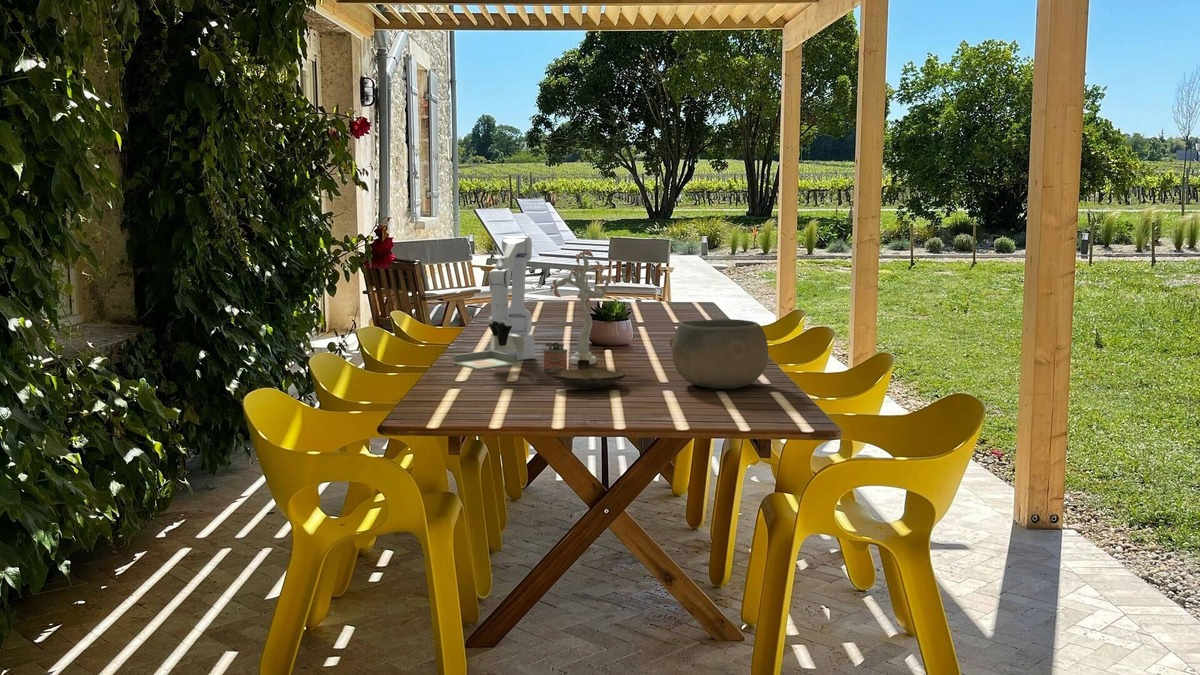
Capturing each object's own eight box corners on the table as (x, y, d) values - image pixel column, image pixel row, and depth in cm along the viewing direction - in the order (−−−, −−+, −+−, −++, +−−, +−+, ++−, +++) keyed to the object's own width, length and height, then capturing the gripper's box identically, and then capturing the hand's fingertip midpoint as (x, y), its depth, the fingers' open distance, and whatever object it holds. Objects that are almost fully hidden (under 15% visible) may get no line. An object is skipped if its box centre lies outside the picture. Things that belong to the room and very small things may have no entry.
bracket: (514, 348, 342) (514, 333, 342) (523, 351, 336) (523, 336, 336) (490, 349, 338) (490, 335, 337) (499, 352, 332) (499, 337, 331)
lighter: (568, 370, 335) (567, 341, 334) (566, 372, 332) (566, 342, 330) (544, 370, 336) (544, 341, 335) (542, 372, 333) (542, 342, 331)
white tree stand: (556, 355, 367) (554, 246, 362) (619, 356, 365) (619, 246, 360) (545, 368, 340) (543, 251, 334) (613, 369, 338) (613, 251, 332)
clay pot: (655, 381, 315) (656, 319, 312) (739, 375, 325) (740, 314, 323) (697, 399, 288) (698, 331, 285) (787, 392, 298) (788, 325, 295)
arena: (492, 358, 360) (492, 350, 360) (517, 364, 348) (516, 355, 348) (453, 363, 351) (453, 354, 350) (477, 369, 338) (477, 360, 338)
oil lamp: (542, 394, 296) (541, 369, 295) (568, 376, 325) (568, 353, 324) (615, 397, 291) (615, 372, 290) (635, 379, 320) (636, 355, 319)
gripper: (480, 303, 340) (481, 342, 342) (498, 307, 328) (498, 348, 330) (499, 302, 344) (499, 341, 346) (517, 306, 331) (518, 346, 333)
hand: (500, 344), depth 338 cm, fingers closed on bracket, 3 cm apart
